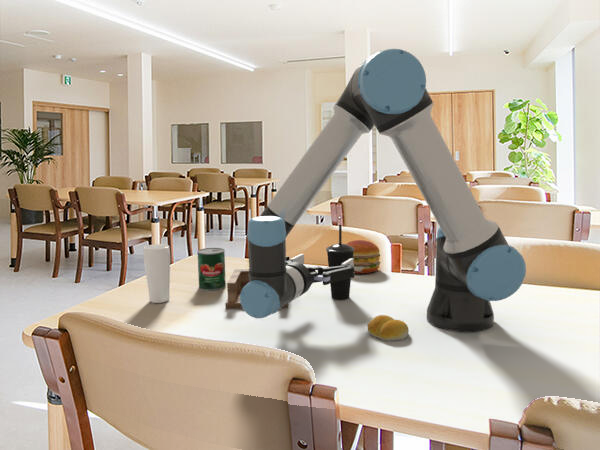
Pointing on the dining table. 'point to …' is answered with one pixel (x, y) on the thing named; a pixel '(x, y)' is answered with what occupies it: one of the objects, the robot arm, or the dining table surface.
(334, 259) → the drinking cup
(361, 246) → the burger
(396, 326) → the bread roll
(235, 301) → the walnut rest
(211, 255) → the canned tomato
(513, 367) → the dining table surface
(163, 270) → the drinking glass
